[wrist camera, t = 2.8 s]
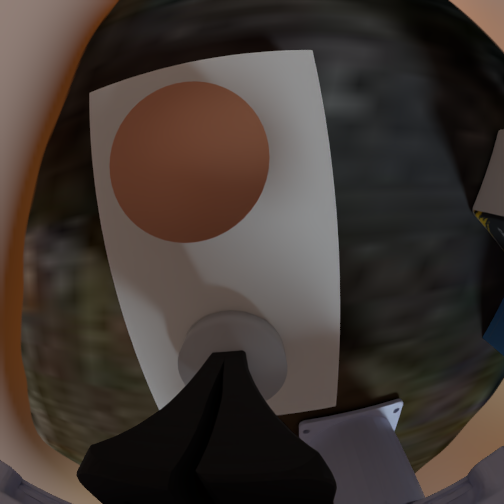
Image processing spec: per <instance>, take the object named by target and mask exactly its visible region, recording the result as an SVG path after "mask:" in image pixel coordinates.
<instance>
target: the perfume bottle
mask: <svg viewBox="0 0 504 504" xmlns="http://www.w3.org/2000/svg"><path fill="white" fill-rule="evenodd" d="M482 338H483V339H484V340H486V341H487V342H488V343H489V344H490V345H492V346H493V347H494V348H495V349H496V350H498V351H499V352H500V353H501V354H502V355H503V356H504V298H503V300H502V302H501V304H500V306H499V308H498V310H497V312H496V314H495V316H494V318H493V320H492V321H491V323H490V325H489V327H488V329H487V330H486V332H485V334H484V336H483V337H482Z"/></svg>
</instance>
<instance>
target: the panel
mask: <svg viewBox="0 0 504 504" xmlns="http://www.w3.org/2000/svg"><path fill="white" fill-rule="evenodd" d="M193 81H198V82H207V83H211V84H216V85H219V86H221V87H224V88H226V89H228V90H230V91H232V92H234V93H235V94H237V95H238V96H239V97H241V98H242V99H243V100H245V101H246V102H247V103H248V105H249V106H250V107H251V108H252V109H253V110H254V112H255V113H256V114H257V116H258V117H259V119H260V121H261V123H262V125H263V127H264V130H265V133H266V136H267V140H268V145H269V157H270V159H269V170H268V175H267V180H266V183H265V185H264V188H263V191H262V193H261V195H260V197H259V199H258V201H257V202H256V204H255V205H254V207H253V208H252V210H251V211H250V212H249V213H248V214H247V215H246V216H245V218H244V219H242V220H241V221H240V222H239V223H238V224H237V225H236V226H234V227H233V228H231V229H230V230H228V231H227V232H225V233H223V234H221V235H219V236H217V237H214V238H211V239H208V240H204V241H199V242H192V243H178V242H171V241H166V240H162V239H160V238H157V237H154V236H152V235H150V234H148V233H146V232H145V231H143V230H142V229H141V228H139V227H138V226H137V225H136V224H134V223H133V222H132V221H131V220H130V219H129V218H128V216H127V215H126V214H125V213H124V211H123V210H122V208H121V207H120V205H119V203H118V201H117V199H116V197H115V194H114V191H113V188H112V184H111V179H110V167H109V165H110V154H111V149H112V144H113V141H114V138H115V135H116V133H117V131H118V129H119V127H120V125H121V123H122V122H123V120H124V119H125V117H126V116H127V115H128V113H129V112H130V111H131V110H132V109H133V108H134V107H135V106H136V105H137V104H138V103H139V102H140V101H141V100H143V99H144V98H145V97H146V96H148V95H150V94H151V93H153V92H155V91H156V90H159V89H161V88H163V87H165V86H169V85H172V84H175V83H181V82H193ZM89 108H90V136H91V151H92V163H93V172H94V181H95V189H96V196H97V203H98V210H99V216H100V222H101V227H102V232H103V238H104V242H105V247H106V252H107V256H108V261H109V265H110V269H111V273H112V277H113V281H114V285H115V289H116V293H117V296H118V300H119V303H120V307H121V310H122V313H123V316H124V320H125V323H126V326H127V329H128V332H129V335H130V338H131V341H132V344H133V347H134V349H135V352H136V355H137V358H138V360H139V363H140V366H141V368H142V371H143V373H144V376H145V378H146V381H147V383H148V385H149V388H150V390H151V393H152V395H153V397H154V399H155V402H156V404H157V406H158V408H159V410H160V409H162V408H163V407H164V406H165V405H167V404H168V403H169V402H170V401H171V400H172V399H173V398H174V397H175V396H176V395H177V394H178V393H179V392H180V391H181V390H182V389H183V388H184V387H185V386H186V385H185V384H184V382H183V381H182V379H181V377H180V374H179V370H178V356H179V352H180V350H181V347H182V345H183V342H184V340H185V337H186V335H187V333H188V331H189V330H190V328H191V327H192V326H193V325H194V324H195V323H196V322H197V321H199V320H200V319H202V318H203V317H205V316H207V315H210V314H212V313H216V312H220V311H230V310H234V311H243V312H247V313H251V314H254V315H256V316H258V317H260V318H262V319H264V320H266V321H267V322H268V323H269V324H271V325H272V326H273V327H274V328H275V329H276V331H277V332H278V333H279V335H280V337H281V339H282V341H283V344H284V349H285V355H286V360H287V376H286V379H285V382H284V384H283V386H282V387H281V389H280V390H279V391H278V392H277V393H276V394H275V395H274V396H273V397H271V398H270V399H268V400H267V401H266V402H267V404H268V405H269V407H270V408H271V409H272V410H273V412H274V413H275V414H276V415H284V414H292V413H299V412H306V411H312V410H318V409H323V408H329V407H334V406H336V399H337V386H338V369H339V345H340V270H339V246H338V228H337V214H336V202H335V191H334V181H333V171H332V163H331V154H330V147H329V139H328V132H327V126H326V119H325V113H324V107H323V101H322V96H321V90H320V85H319V80H318V75H317V70H316V65H315V60H314V56H313V51H312V50H287V51H268V52H255V53H245V54H237V55H229V56H222V57H216V58H210V59H204V60H199V61H193V62H189V63H184V64H179V65H175V66H171V67H167V68H163V69H159V70H155V71H152V72H148V73H145V74H141V75H138V76H135V77H132V78H129V79H125V80H122V81H120V82H117V83H114V84H111V85H108V86H106V87H103V88H100V89H98V90H95V91H93V92H90V93H89Z"/></svg>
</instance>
